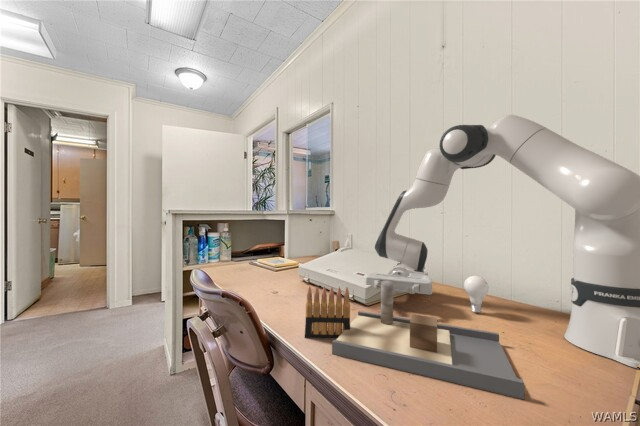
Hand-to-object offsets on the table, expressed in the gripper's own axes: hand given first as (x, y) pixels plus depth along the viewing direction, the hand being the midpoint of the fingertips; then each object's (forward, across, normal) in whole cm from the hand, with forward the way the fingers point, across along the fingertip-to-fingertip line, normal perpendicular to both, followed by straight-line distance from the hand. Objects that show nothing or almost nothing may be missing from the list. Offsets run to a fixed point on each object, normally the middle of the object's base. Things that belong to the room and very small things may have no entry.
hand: (394, 288), depth 77 cm
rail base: (+18, +8, +8) cm, 21 cm away
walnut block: (+20, +9, +6) cm, 23 cm away
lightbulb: (-13, +22, +8) cm, 27 cm away
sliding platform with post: (+18, +3, +6) cm, 19 cm away
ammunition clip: (+21, -12, +8) cm, 26 cm away
